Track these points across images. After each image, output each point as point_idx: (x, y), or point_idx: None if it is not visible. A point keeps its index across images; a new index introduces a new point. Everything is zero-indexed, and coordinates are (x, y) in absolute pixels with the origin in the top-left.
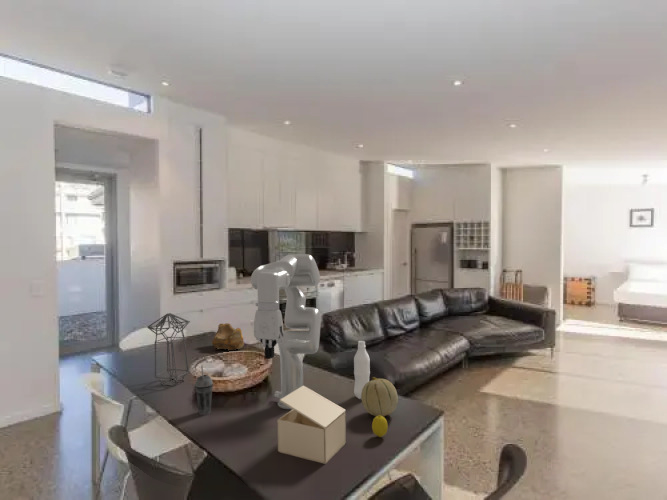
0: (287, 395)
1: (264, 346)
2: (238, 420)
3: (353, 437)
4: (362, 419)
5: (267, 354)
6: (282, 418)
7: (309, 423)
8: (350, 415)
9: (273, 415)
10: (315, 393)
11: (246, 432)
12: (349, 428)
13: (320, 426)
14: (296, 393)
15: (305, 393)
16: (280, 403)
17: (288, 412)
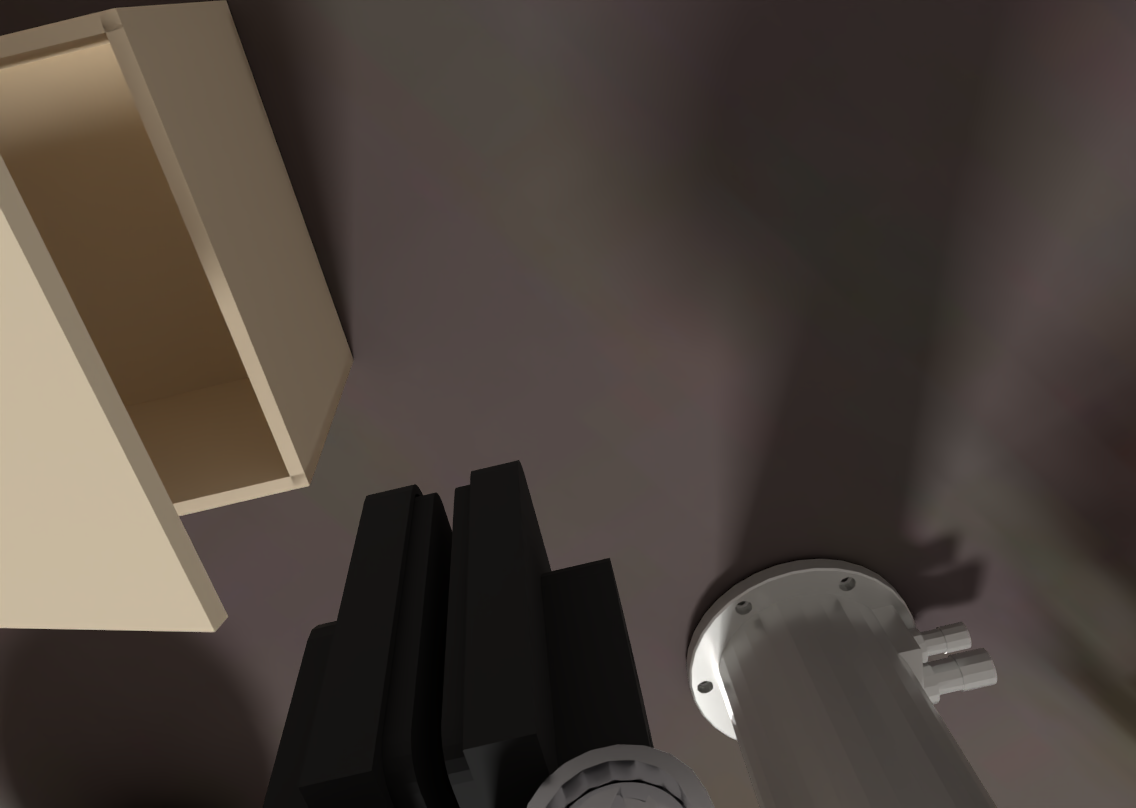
0: (16, 246)
1: (619, 791)
2: (978, 201)
3: None
4: (205, 760)
5: (422, 567)
6: (139, 99)
7: (240, 416)
8: None
9: (784, 442)
10: (43, 611)
11: (746, 84)
12: None
13: None
14: (54, 408)
15: (49, 513)
16: (860, 591)
17: (208, 248)
